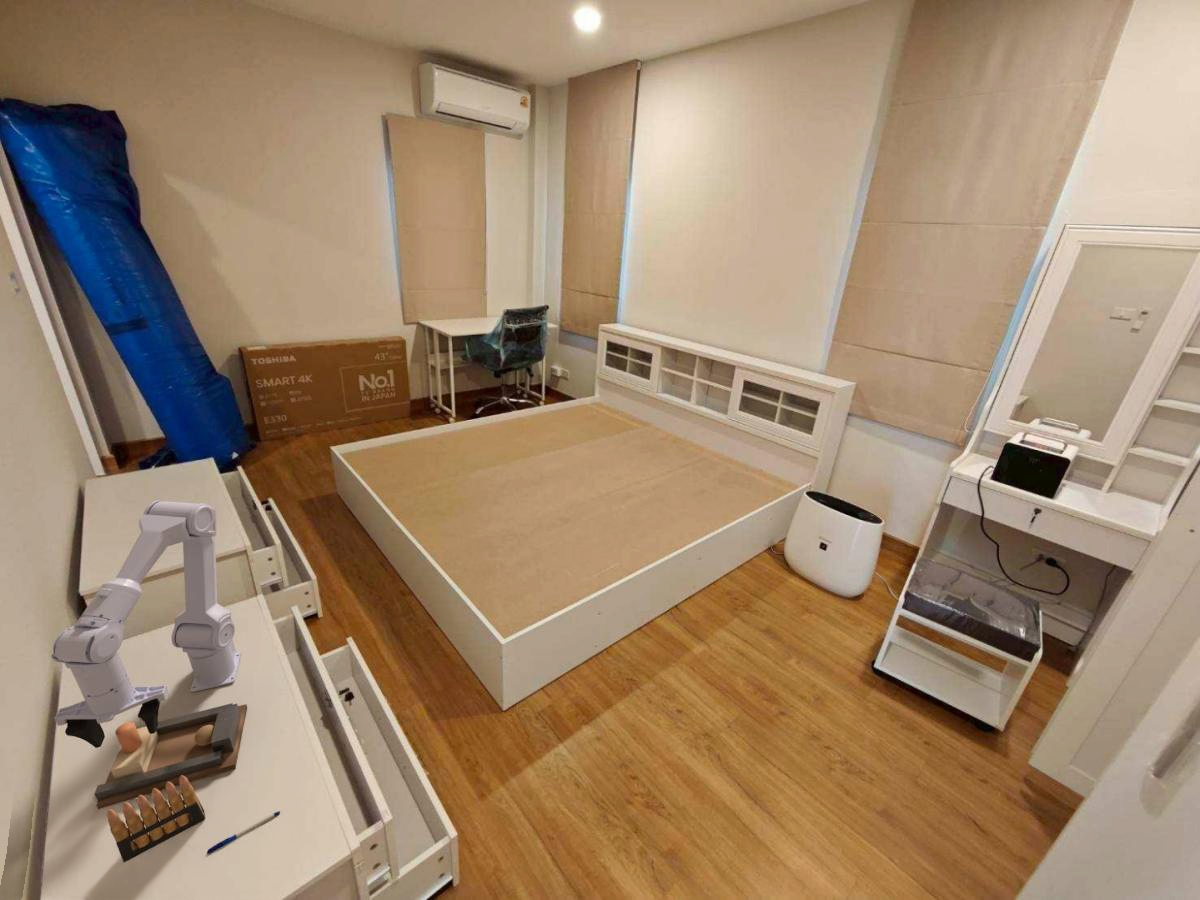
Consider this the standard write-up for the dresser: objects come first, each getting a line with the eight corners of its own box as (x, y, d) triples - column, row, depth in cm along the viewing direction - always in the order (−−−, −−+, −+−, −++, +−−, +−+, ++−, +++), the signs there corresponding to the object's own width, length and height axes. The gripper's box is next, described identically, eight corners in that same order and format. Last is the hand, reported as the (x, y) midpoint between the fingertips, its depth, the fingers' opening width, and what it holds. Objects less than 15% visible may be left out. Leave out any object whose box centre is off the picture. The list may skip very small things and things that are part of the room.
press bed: (126, 739, 99) (119, 721, 97) (247, 707, 107) (242, 691, 105) (98, 809, 87) (88, 790, 85) (235, 768, 96) (229, 750, 94)
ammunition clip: (204, 810, 89) (187, 767, 84) (205, 819, 88) (188, 776, 83) (123, 852, 82) (100, 808, 77) (123, 863, 81) (100, 819, 76)
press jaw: (132, 743, 96) (118, 713, 93) (158, 736, 98) (146, 706, 95) (116, 783, 90) (101, 752, 86) (145, 775, 92) (131, 744, 88)
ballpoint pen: (208, 856, 83) (206, 853, 82) (207, 852, 83) (205, 848, 83) (280, 814, 90) (279, 811, 89) (279, 810, 90) (278, 807, 90)
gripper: (35, 715, 79) (64, 770, 85) (151, 689, 85) (171, 741, 91) (56, 680, 85) (82, 734, 91) (163, 658, 91) (181, 709, 97)
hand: (127, 735), depth 91 cm, fingers open, 7 cm apart
